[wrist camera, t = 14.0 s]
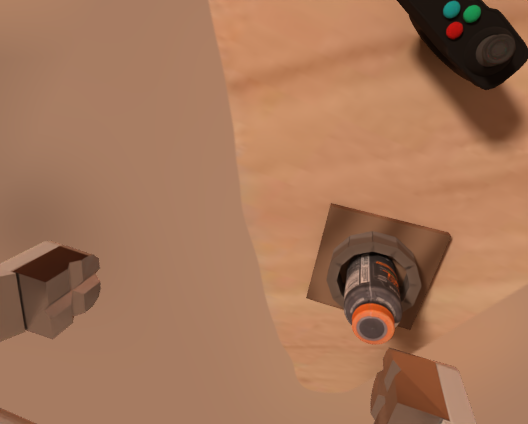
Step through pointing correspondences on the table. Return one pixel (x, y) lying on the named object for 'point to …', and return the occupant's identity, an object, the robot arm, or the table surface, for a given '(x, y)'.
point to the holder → (381, 241)
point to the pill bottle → (372, 297)
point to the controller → (469, 38)
